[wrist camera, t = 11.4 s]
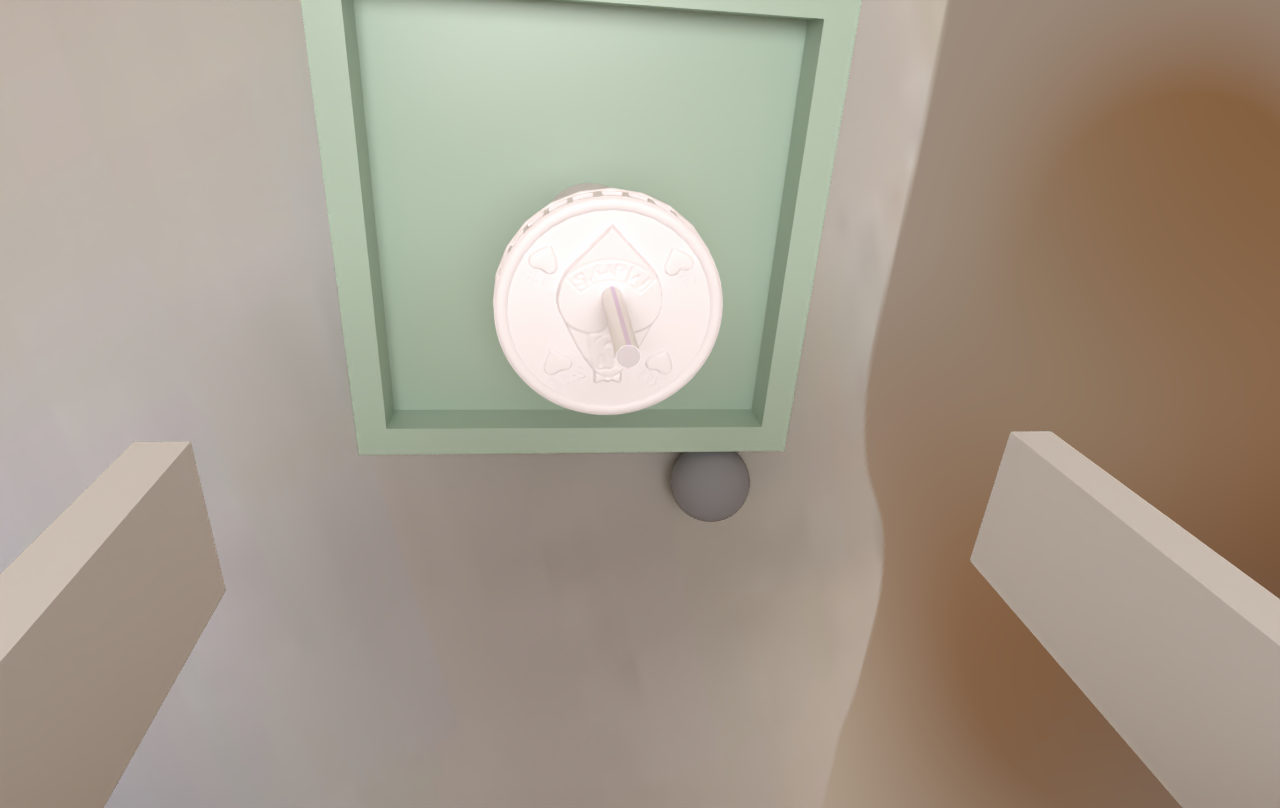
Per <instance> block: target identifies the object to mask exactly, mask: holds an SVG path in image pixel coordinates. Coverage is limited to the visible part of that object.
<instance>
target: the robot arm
mask: <svg viewBox="0 0 1280 808" xmlns="http://www.w3.org/2000/svg"><path fill="white" fill-rule="evenodd" d="M970 561H971V562H972V563H973V565H974V566H975V567H976V568H977V569H978V570H979V572H980V573H981V574H982V575H983V576H984V577H985V578H986V580H987V581H988V582H989V583H990V584H991V586H992V587H993V588H994V589H995V590H996V591H997V593H998V594H999V595H1000V596H1001V597H1002V598H1003V600H1004V601H1005V602H1006V603H1007V604H1008V605H1009V606H1010V608H1011V609H1012V610H1013V611H1014V612H1015V614H1016V615H1017V616H1018V617H1019V618H1020V619H1021V620H1022V621H1023V623H1024V624H1025V625H1026V626H1027V627H1028V629H1029V630H1030V631H1031V632H1032V633H1033V634H1034V636H1035V637H1036V638H1037V639H1038V640H1039V641H1040V643H1041V644H1042V645H1043V646H1044V647H1045V648H1046V649H1047V650H1048V652H1049V653H1050V654H1051V655H1052V657H1053V658H1054V659H1055V660H1056V661H1057V662H1058V664H1060V666H1061V667H1062V668H1063V669H1064V670H1065V672H1066V673H1067V674H1068V675H1069V676H1070V677H1071V679H1072V680H1073V681H1074V682H1075V683H1076V684H1077V686H1078V687H1079V688H1080V689H1081V690H1082V691H1083V693H1085V695H1086V696H1087V697H1088V698H1089V699H1090V701H1091V702H1092V703H1093V704H1094V705H1095V706H1096V707H1097V709H1098V710H1099V711H1100V712H1101V713H1102V715H1103V716H1104V717H1105V718H1106V719H1107V720H1108V722H1109V723H1110V724H1111V725H1112V726H1113V727H1114V729H1115V730H1116V731H1117V732H1118V733H1119V734H1120V736H1121V737H1122V738H1123V739H1124V740H1125V741H1126V743H1128V745H1129V746H1130V747H1131V748H1132V749H1133V751H1134V752H1135V753H1136V754H1137V755H1138V756H1139V758H1140V759H1141V760H1142V761H1143V762H1144V763H1145V765H1146V766H1147V767H1148V768H1149V769H1150V770H1151V772H1152V773H1153V774H1154V775H1155V776H1156V777H1157V779H1158V780H1159V781H1160V782H1161V783H1162V784H1163V786H1164V787H1165V788H1166V789H1167V790H1168V791H1169V792H1170V794H1171V795H1172V796H1173V797H1174V798H1175V800H1176V801H1178V803H1179V804H1180V805H1181V806H1182V808H1280V599H1279V598H1277V597H1276V596H1274V595H1273V594H1272V593H1270V592H1269V591H1268V590H1266V589H1265V588H1264V587H1262V586H1261V585H1259V584H1258V583H1257V582H1255V581H1254V580H1253V579H1251V578H1250V577H1249V576H1247V575H1246V574H1244V573H1243V572H1242V571H1240V570H1239V569H1238V568H1236V567H1235V566H1234V565H1232V564H1231V563H1229V562H1228V561H1227V560H1225V559H1224V558H1223V557H1221V556H1220V555H1219V554H1217V553H1216V552H1214V551H1213V550H1212V549H1210V548H1209V547H1208V546H1206V545H1205V544H1204V543H1202V542H1201V541H1200V540H1198V539H1197V538H1195V537H1194V536H1193V535H1191V534H1190V533H1188V532H1187V531H1186V530H1185V529H1183V528H1182V527H1180V526H1179V525H1178V524H1176V523H1175V522H1173V521H1172V520H1171V519H1170V518H1168V517H1167V516H1165V515H1164V514H1163V513H1161V512H1160V511H1158V510H1157V509H1156V508H1155V507H1153V506H1152V505H1150V504H1149V503H1147V502H1146V501H1145V500H1144V499H1142V498H1141V497H1140V496H1138V495H1137V494H1135V493H1134V492H1133V491H1131V490H1130V489H1129V488H1127V487H1126V486H1125V485H1123V484H1122V483H1120V482H1119V481H1118V480H1116V479H1115V478H1114V477H1112V476H1111V475H1110V474H1108V473H1107V472H1105V471H1104V470H1103V469H1101V468H1100V467H1099V466H1097V465H1096V464H1094V463H1093V462H1092V461H1090V460H1089V459H1088V458H1086V457H1085V456H1084V455H1082V454H1081V453H1080V452H1078V451H1077V450H1076V449H1074V448H1073V447H1071V446H1070V445H1069V444H1067V443H1066V442H1064V441H1063V440H1062V439H1060V438H1059V437H1058V436H1056V435H1055V434H1054V433H1052V432H1051V431H1041V432H1040V431H1038V432H1011V433H1010V436H1009V439H1008V442H1007V445H1006V448H1005V451H1004V455H1003V458H1002V461H1001V464H1000V467H999V470H998V474H997V477H996V480H995V483H994V486H993V489H992V492H991V496H990V499H989V502H988V505H987V508H986V511H985V514H984V518H983V521H982V524H981V527H980V531H979V533H978V537H977V540H976V543H975V546H974V549H973V552H972V556H971V559H970ZM225 591H226V589H225V585H224V581H223V576H222V572H221V568H220V564H219V559H218V555H217V551H216V547H215V543H214V538H213V534H212V530H211V526H210V521H209V517H208V513H207V509H206V504H205V500H204V496H203V492H202V488H201V483H200V479H199V475H198V471H197V466H196V462H195V458H194V454H193V449H192V445H191V442H133V443H132V444H131V445H130V446H129V447H128V448H127V449H126V450H125V451H124V452H123V453H122V454H121V455H120V456H119V457H118V458H117V459H116V460H115V461H114V462H113V463H112V464H111V465H110V466H109V467H108V468H107V469H106V470H105V471H104V472H103V473H102V474H101V475H100V476H99V477H98V478H97V479H96V480H95V481H94V482H93V483H92V484H91V485H90V486H89V487H88V488H87V489H86V490H85V491H84V492H83V493H82V494H81V495H80V496H79V497H78V498H77V499H76V500H75V501H74V502H73V503H72V504H71V505H70V506H69V507H68V508H67V509H66V510H65V511H64V512H63V513H62V514H61V515H60V516H59V517H58V518H57V519H56V520H55V521H54V522H53V523H52V524H51V525H50V526H49V527H48V528H47V529H46V530H44V531H43V532H42V533H41V534H40V535H39V536H38V537H37V538H36V539H35V540H34V541H33V542H32V543H31V544H30V545H29V546H28V547H27V548H26V549H25V550H24V551H23V552H22V553H21V554H20V555H19V556H18V557H17V558H16V559H15V560H14V561H13V562H12V563H11V564H10V565H9V566H8V567H7V568H6V569H5V570H4V571H3V572H2V573H1V574H0V808H104V806H105V805H106V803H107V801H108V799H109V797H110V796H111V794H112V792H113V790H114V789H115V787H116V785H117V783H118V781H119V780H120V778H121V776H122V774H123V773H124V771H125V769H126V767H127V765H128V764H129V762H130V760H131V758H132V757H133V755H134V753H135V751H136V749H137V748H138V746H139V744H140V742H141V740H142V739H143V737H144V735H145V733H146V732H147V730H148V728H149V726H150V724H151V723H152V721H153V719H154V717H155V716H156V714H157V712H158V710H159V708H160V707H161V705H162V703H163V701H164V700H165V698H166V696H167V694H168V692H169V691H170V689H171V687H172V685H173V684H174V682H175V680H176V678H177V676H178V675H179V673H180V671H181V669H182V668H183V666H184V664H185V662H186V660H187V659H188V657H189V655H190V653H191V652H192V650H193V648H194V646H195V644H196V643H197V641H198V639H199V637H200V635H201V634H202V632H203V630H204V628H205V627H206V625H207V623H208V621H209V619H210V618H211V616H212V614H213V612H214V611H215V609H216V607H217V605H218V603H219V602H220V600H221V598H222V596H223V595H224V593H225Z"/></svg>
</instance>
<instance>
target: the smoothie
mask: <svg viewBox="0 0 1280 808" xmlns="http://www.w3.org/2000/svg"><path fill="white" fill-rule="evenodd" d="M493 307H494V320H495V327H496V332H497V336H498V339H499V342H500V345H501V347H502V350H503V352H504V354H505V356H506V358H507V360H508V361H509V363H510V365H511V366H512V367H513V369H514V370H515V372H516V373H517V374H518V375H519V376H520V378H521V379H522V380H523V381H524V382H525V383H526V384H527V385H528V386H529V387H530V388H532V389H533V390H534V391H536V392H537V393H538V394H540V395H541V396H543V397H544V398H546V399H547V400H549V401H551V402H553V403H555V404H557V405H560V406H562V407H564V408H567V409H570V410H574V411H577V412H582V413H587V414H595V415H616V414H624V413H630V412H634V411H638V410H641V409H644V408H647V407H650V406H652V405H655V404H657V403H659V402H661V401H663V400H665V399H666V398H668V397H670V396H671V395H673V394H674V393H676V392H677V391H678V390H680V389H681V388H682V387H683V386H684V385H686V384H687V383H688V382H689V381H690V380H691V379H692V378H693V377H694V375H695V374H696V373H697V372H698V371H699V370H700V368H701V367H702V365H703V364H704V363H705V361H706V359H707V358H708V356H709V354H710V353H711V350H712V348H713V346H714V344H715V341H716V339H717V336H718V333H719V329H720V325H721V319H722V310H723V296H722V287H721V281H720V277H719V273H718V270H717V268H716V265H715V262H714V260H713V258H712V256H711V254H710V251H709V249H708V247H707V246H706V244H705V243H704V241H703V240H702V238H701V237H700V235H699V234H698V232H697V231H696V229H695V228H694V226H693V225H692V224H691V223H690V222H689V221H687V220H686V219H685V218H684V217H683V216H682V215H681V214H679V213H678V212H677V211H676V210H675V209H674V208H672V207H671V206H670V205H668V204H666V203H663V202H661V201H659V200H657V199H655V198H653V197H651V196H648V195H646V194H644V193H641V192H635V191H629V190H623V189H617V188H610V187H607V186H605V185H602V184H597V183H581V184H577V185H574V186H571V187H569V188H567V189H565V190H563V191H562V192H561V193H559V194H558V195H557V196H556V197H555V198H554V199H553V200H552V202H550V203H549V204H548V205H546V206H545V207H544V208H542V209H541V210H540V211H539V212H537V213H536V214H535V215H533V216H532V217H531V218H529V219H528V220H527V221H525V223H524V224H523V225H522V226H521V228H520V229H519V230H518V232H517V233H516V234H515V236H514V237H513V238H512V240H511V241H510V242H509V243H508V245H507V246H506V249H505V251H504V254H503V256H502V259H501V261H500V264H499V266H498V269H497V272H496V275H495V285H494V295H493Z"/></svg>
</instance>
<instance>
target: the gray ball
mask: <svg viewBox="0 0 1280 808" xmlns="http://www.w3.org/2000/svg"><path fill="white" fill-rule="evenodd" d="M749 487H750V478H749V473H748V469H747V467H746V464H745V463H744V461H743V460H742V458H741V457H740V456H739V455H738V454H737V453H736V452H735V451H731V452H683V453H682V454H681V455H680V457H679V458H678V459H677V461H676V462H675V464H674V466H673V469H672V473H671V490H672V494H673V497H674V499H675V501H676V503H677V504H678V505H679V507H680V508H681V509H682V510H683V511H684V512H685V513H686V514H688V515H689V516H691V517H693V518H695V519H698V520H701V521H707V522H714V521H720V520H724V519H726V518H728V517H730V516H732V515H733V514H735V513H736V512H737V511H738V510H739V509H740V508H741V507H742V505H743V504H744V502H745V500H746V498H747V495H748V492H749Z"/></svg>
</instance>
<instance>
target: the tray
mask: <svg viewBox="0 0 1280 808" xmlns="http://www.w3.org/2000/svg"><path fill="white" fill-rule="evenodd" d="M861 2H862V0H301V7H302V15H303V23H304V31H305V39H306V47H307V55H308V62H309V70H310V78H311V86H312V94H313V102H314V109H315V117H316V125H317V133H318V141H319V149H320V157H321V164H322V172H323V180H324V188H325V196H326V204H327V211H328V219H329V227H330V235H331V243H332V251H333V259H334V266H335V274H336V282H337V290H338V298H339V306H340V313H341V321H342V329H343V337H344V345H345V353H346V361H347V368H348V376H349V384H350V392H351V400H352V408H353V415H354V423H355V431H356V439H357V447H358V455H412V454H519V453H625V452H731V451H785V445H786V439H787V433H788V427H789V422H790V416H791V410H792V404H793V398H794V392H795V387H796V381H797V375H798V369H799V363H800V357H801V352H802V346H803V340H804V334H805V328H806V322H807V317H808V311H809V305H810V299H811V293H812V288H813V282H814V276H815V270H816V264H817V258H818V253H819V247H820V241H821V235H822V229H823V223H824V218H825V212H826V206H827V200H828V194H829V188H830V183H831V177H832V171H833V165H834V159H835V154H836V148H837V142H838V136H839V130H840V124H841V119H842V113H843V107H844V101H845V95H846V89H847V84H848V78H849V72H850V66H851V60H852V54H853V49H854V43H855V37H856V31H857V25H858V20H859V14H860V8H861ZM581 183H597V184H602V185H605V186H607V187H610V188H617V189H623V190H629V191H635V192H641V193H644V194H646V195H648V196H651V197H653V198H655V199H657V200H659V201H661V202H663V203H666V204H668V205H670V206H671V207H672V208H674V209H675V210H676V211H677V212H678V213H679V214H681V215H682V216H683V217H684V218H685V219H686V220H687V221H689V222H690V223H691V224H692V225H693V226H694V228H695V229H696V231H697V232H698V234H699V235H700V237H701V238H702V240H703V241H704V243H705V244H706V246H707V247H708V249H709V251H710V254H711V256H712V258H713V260H714V262H715V265H716V268H717V270H718V273H719V277H720V281H721V287H722V296H723V310H722V319H721V325H720V329H719V333H718V336H717V339H716V341H715V344H714V346H713V348H712V350H711V353H710V354H709V356H708V358H707V359H706V361H705V363H704V364H703V365H702V367H701V368H700V370H699V371H698V372H697V373H696V374H695V375H694V377H693V378H692V379H691V380H690V381H689V382H688V383H687V384H686V385H684V386H683V387H682V388H681V389H680V390H678V391H677V392H676V393H674V394H673V395H671V396H670V397H668V398H666V399H665V400H663V401H661V402H659V403H657V404H655V405H652V406H650V407H647V408H644V409H641V410H638V411H634V412H630V413H624V414H616V415H595V414H587V413H582V412H577V411H574V410H570V409H567V408H564V407H562V406H560V405H557V404H555V403H553V402H551V401H549V400H547V399H546V398H544V397H543V396H541V395H540V394H538V393H537V392H536V391H534V390H533V389H532V388H530V387H529V386H528V385H527V384H526V383H525V382H524V381H523V380H522V379H521V378H520V376H519V375H518V374H517V373H516V372H515V370H514V369H513V367H512V366H511V365H510V363H509V361H508V360H507V358H506V356H505V354H504V352H503V350H502V347H501V345H500V342H499V339H498V336H497V332H496V327H495V320H494V307H493V295H494V285H495V275H496V272H497V269H498V266H499V264H500V261H501V259H502V256H503V254H504V251H505V249H506V246H507V245H508V243H509V242H510V241H511V240H512V238H513V237H514V236H515V234H516V233H517V232H518V230H519V229H520V228H521V226H522V225H523V224H524V223H525V221H527V220H528V219H529V218H531V217H532V216H533V215H535V214H536V213H537V212H539V211H540V210H541V209H542V208H544V207H545V206H546V205H548V204H549V203H550V202H552V200H553V199H554V198H555V197H556V196H557V195H558V194H559V193H561V192H562V191H563V190H565V189H567V188H569V187H571V186H574V185H577V184H581Z"/></svg>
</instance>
